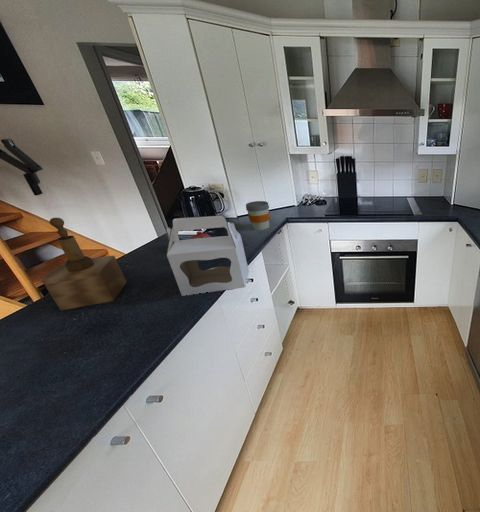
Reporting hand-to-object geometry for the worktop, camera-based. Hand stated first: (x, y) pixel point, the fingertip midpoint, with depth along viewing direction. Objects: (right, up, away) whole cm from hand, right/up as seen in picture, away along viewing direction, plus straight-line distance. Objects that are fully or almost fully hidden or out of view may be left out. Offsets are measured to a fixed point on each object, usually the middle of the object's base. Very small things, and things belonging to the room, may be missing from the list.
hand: (8, 196), depth 85 cm
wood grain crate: (+10, -33, +16) cm, 38 cm away
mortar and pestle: (+11, -23, +11) cm, 27 cm away
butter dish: (+24, -14, +56) cm, 62 cm away
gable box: (+50, -30, +26) cm, 63 cm away
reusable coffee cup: (+42, -1, +83) cm, 93 cm away
